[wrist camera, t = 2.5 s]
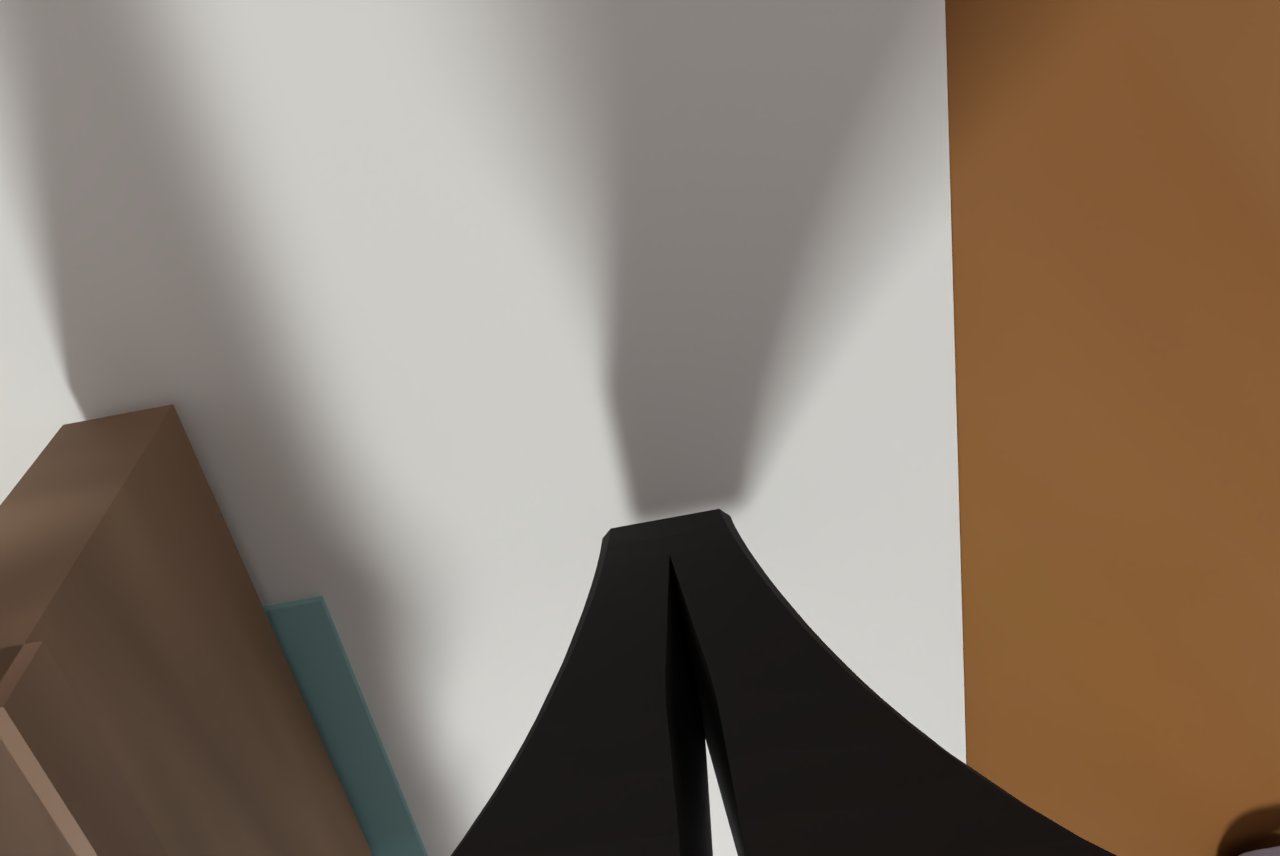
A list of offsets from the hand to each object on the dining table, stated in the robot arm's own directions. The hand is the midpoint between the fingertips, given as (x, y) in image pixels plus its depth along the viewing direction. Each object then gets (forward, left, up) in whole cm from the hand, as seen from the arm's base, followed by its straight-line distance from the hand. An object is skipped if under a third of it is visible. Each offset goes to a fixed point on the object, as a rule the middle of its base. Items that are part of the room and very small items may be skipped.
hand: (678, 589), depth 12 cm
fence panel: (+5, +1, -1) cm, 6 cm away
